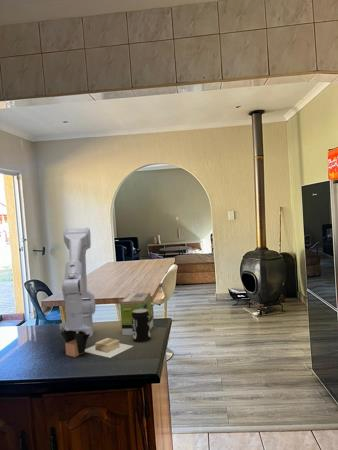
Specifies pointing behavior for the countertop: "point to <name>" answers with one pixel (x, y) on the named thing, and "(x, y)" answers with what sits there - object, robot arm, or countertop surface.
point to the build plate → (109, 354)
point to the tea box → (131, 304)
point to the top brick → (72, 348)
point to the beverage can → (140, 325)
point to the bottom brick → (107, 345)
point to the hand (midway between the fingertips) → (76, 351)
